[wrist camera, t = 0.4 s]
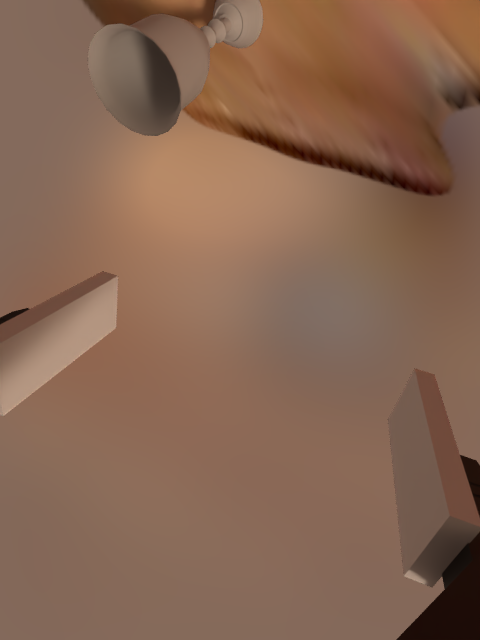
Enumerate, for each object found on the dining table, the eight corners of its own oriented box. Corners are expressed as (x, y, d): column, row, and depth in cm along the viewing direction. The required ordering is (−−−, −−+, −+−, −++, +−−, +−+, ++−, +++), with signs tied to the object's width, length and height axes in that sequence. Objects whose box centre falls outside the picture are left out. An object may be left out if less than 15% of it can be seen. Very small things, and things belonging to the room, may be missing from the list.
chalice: (207, 54, 39) (104, 127, 29) (200, -34, 34) (72, 17, 24) (272, 62, 38) (187, 144, 27) (276, -29, 32) (173, 29, 22)
